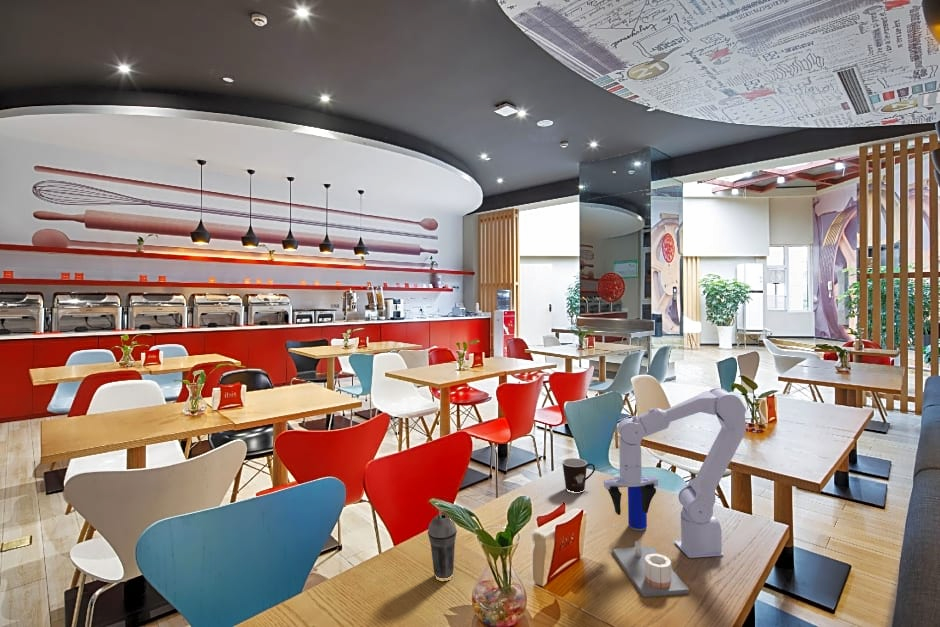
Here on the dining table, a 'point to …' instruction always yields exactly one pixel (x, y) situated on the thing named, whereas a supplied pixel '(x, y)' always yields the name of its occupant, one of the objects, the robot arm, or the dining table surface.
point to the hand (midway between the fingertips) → (631, 512)
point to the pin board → (635, 569)
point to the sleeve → (658, 570)
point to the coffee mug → (575, 473)
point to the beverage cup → (442, 545)
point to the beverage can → (636, 509)
